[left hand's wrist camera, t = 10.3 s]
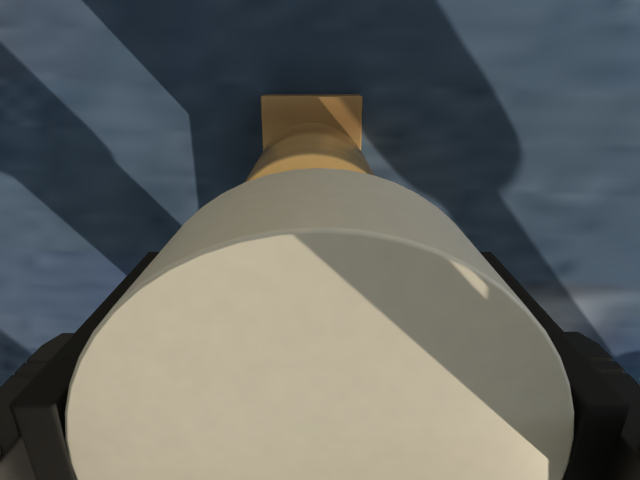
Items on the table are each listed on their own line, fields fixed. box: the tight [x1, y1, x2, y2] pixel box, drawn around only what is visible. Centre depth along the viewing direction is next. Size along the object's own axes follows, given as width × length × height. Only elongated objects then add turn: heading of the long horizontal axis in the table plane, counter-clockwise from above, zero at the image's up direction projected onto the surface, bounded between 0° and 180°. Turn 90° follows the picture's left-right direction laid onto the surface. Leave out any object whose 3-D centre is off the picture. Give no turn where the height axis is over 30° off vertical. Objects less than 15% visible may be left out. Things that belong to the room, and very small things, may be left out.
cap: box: [65, 168, 574, 480], centre depth 10 cm, size 9×9×4 cm
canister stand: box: [244, 94, 375, 183], centre depth 27 cm, size 28×7×12 cm, turn 0°
